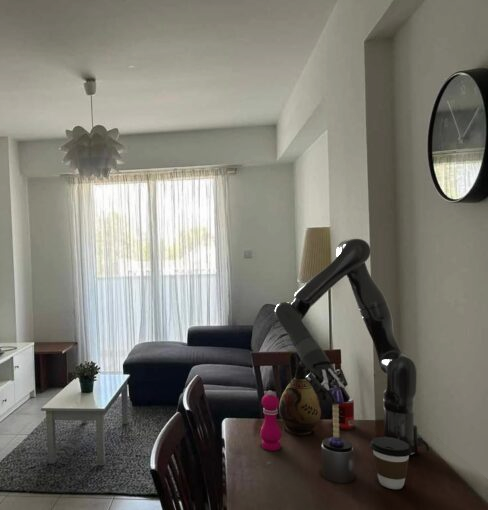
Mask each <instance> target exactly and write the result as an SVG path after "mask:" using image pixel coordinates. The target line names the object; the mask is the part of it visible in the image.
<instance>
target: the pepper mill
mask: <svg viewBox="0 0 488 510" xmlns="http://www.w3.org/2000/svg"><path fill="white" fill-rule="evenodd" d="M273 393H274V392H273V391H272V390H270V389H269V390H268V391H267V393H266V394H265V395H263V397H262V398H261V405H262V407H263V408H262V413H263V414H264V420H263V422H262V423H263V424H262V425H261V427H260V428H261V429H260V433H259V435H260V438H261V439H262V440H261V447H262V448H263V449H264V450H266V451H278V450H280V448H281V442H280V441H281V439H282V431H281V429H280V426H279V423H278V421H277V420H278V419H277V415H278V414H279V404H280V400H279V398H278V397H277V395H274V394H273Z"/></svg>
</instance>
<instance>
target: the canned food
mask: <svg viewBox="0 0 488 510" xmlns="http://www.w3.org/2000/svg"><path fill="white" fill-rule="evenodd" d="M349 397H350V400H349V401H348V402H344V403H342V404H339V406H338V408H339V412H338V413H339V417H338V418H339V430H352V429H354V426H355V401H354V398H353V397H351V396H349Z"/></svg>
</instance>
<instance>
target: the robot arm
mask: <svg viewBox="0 0 488 510" xmlns="http://www.w3.org/2000/svg"><path fill="white" fill-rule="evenodd" d="M370 256H371V247H370V245H369V243H368V242H367V241H365V240H364V239H361V238H349V239H345V240H342V241H340V242H339V244H338V245H337V247H336V258H335V259H334V260H332V262H331V263H330V264H328V265H327V266H326V267H325V268H323V269H321V271H319V272H318V273H316V274H315V275H314V276H312V277H311V278H310V279H308V280H307V281H306V282H305V283H304V284H303V285H302V286H301V287H300V288H299V289H297V291H296V292H295V293H294V299H293V301H292V302H289V301H282V302H280V303H278V304H277V305H276V307H275V309H274V315H275V317H276V319H277V320H278V322H279V324H280V325H281V327H282V328H283V329H284V331H285V332H286V334H287V336H288V337H289V340H290V342H291V343H292V345H293V347H294V348H295V351H297V353H298V355H299V357H300V358H301V360H302V362H303V363H304V365H305V367H306V368H307V370H306V371H307V372H308V374H307V375H305V376H306V378H305V379H306V380H307V381H308V383H309V384H310V385H311V386H312V388H313V389H314V391H315V393H316V394H322V395H324V397H325V398H326V400H327V402H328V403H329V404H330V405H331V406H333V405H334V404H335V403H336V402H337V400H336V398H335V397H334V395H333V393H332V392H331V390H330V386H331V388H340V389H341V392H342V395H343V399H344V402H348V401H349V400H350V397H351V396H350V395H349V393H348V392H347V390H346V387H347V386H348V385H349V384H348V382H347V379H346V376H345V374H344V371H343V369H342V368H339V369H334V367H332V366H331V363H330V359H329V357H328V356H327V355H326V352H325V351H324V349H323V348H322V347H321V345H320V342H318V341H317V340H316V338H315V337H314V335H313V333H312V332H311V330H309V328H308V327H307V325H306V324H305V323H304V322H303V319H304V318H305V317H306V315H307V313H308V312H309V311H310V310H311V307H313V306H314V305H315V304H316V303H317V302H318V301H319V300H320V299H321V298H322V297H324V295H326V293H328V291H330V289H332V288H333V287H334V286H335V285H336V284H338V282H339V281H341V280H342V279H343V278H344V277H347V280H348V282H349V285H350V288H351V291H352V295H353V296H354V299H355V301H356V303H357V307H358V310H359V313H360V315H361V318H362V320H363V322H364V324H365V327H366V329H367V331H368V333H369V336H370V338H371V340H372V343H373V345H374V347H375V352H376V355H377V360H378V363H379V366H380V369H381V371H382V373H383V374H384V375H385V376H386V389H385V390H383V436H382V437H391V438H395V439H399V440H402V441H404V442H406V443H407V444H409V446H410V448H411V450H412V453H411V454H410V455H409V457H412V456H415V455H416V456H417V455H418V454H419V453H418V447H423V445H424V446H425V451H426V452H430V446H429V444H428V443H427V442H426V441H425V440H424V439H423V437H422V436H421V435H420V434H418V425H416V424H415V397H416V395H417V387H418V385H417V383H418V382H417V381H418V374H417V373H418V372H417V366H416V364H415V361H413V360H412V358H410V357H408V356H406V355H405V354H404V353H403V351H402V350H401V348H400V346H399V343H398V342H397V341H398V340H397V339H396V336H395V331H394V320H393V315H392V311H391V308H390V305H389V303H388V300H387V298H386V296H385V295H384V293H383V291H382V290H381V288H380V287H379V286H378V284H377V283H376V282H375V280H374V279H373V278H372V276H371V274H370V273H369V270H368V267H367V264H366V262H367V261H368V260H369V258H370Z"/></svg>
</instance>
